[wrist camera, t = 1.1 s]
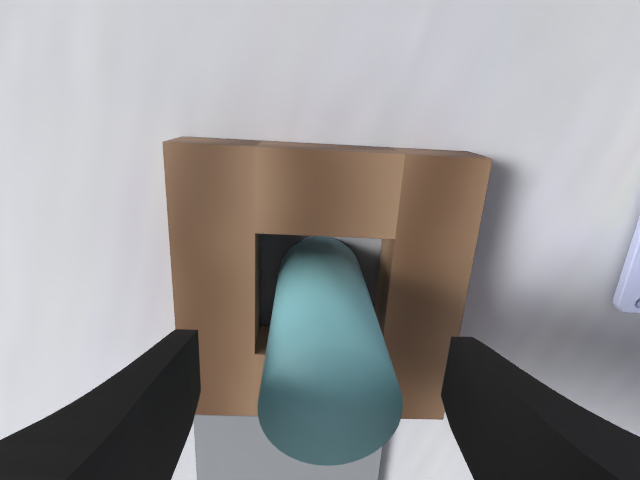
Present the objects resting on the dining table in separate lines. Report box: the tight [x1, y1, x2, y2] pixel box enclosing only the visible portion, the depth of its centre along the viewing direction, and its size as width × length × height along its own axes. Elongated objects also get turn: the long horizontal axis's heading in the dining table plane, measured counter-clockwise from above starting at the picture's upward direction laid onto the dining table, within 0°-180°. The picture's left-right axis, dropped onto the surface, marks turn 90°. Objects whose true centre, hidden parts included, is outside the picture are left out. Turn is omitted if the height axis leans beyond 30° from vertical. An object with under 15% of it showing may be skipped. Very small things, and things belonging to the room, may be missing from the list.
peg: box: [257, 237, 403, 466], centre depth 13 cm, size 4×4×8 cm
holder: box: [163, 137, 492, 419], centre depth 16 cm, size 11×11×2 cm
